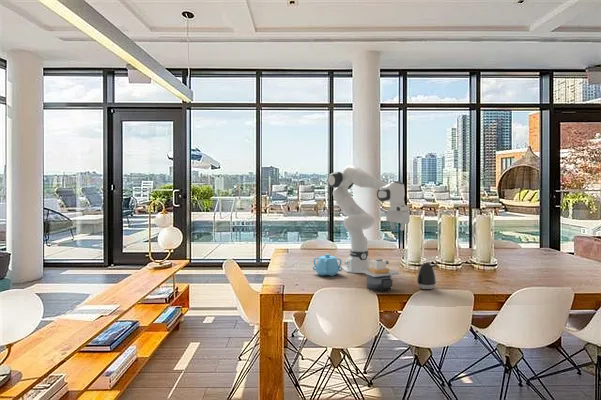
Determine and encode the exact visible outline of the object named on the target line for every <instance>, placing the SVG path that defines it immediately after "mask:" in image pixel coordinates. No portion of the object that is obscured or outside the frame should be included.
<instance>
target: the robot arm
mask: <svg viewBox="0 0 601 400" xmlns="http://www.w3.org/2000/svg"><path fill="white" fill-rule="evenodd" d="M326 181H327V184H328V186H329V187H330V188H334V189H333V191H332V196H333V199H334V201H335V202H336V204H337V205H338V207H339V208H340V210H341V212H342V213H343V214H344V215H346V217H345V218H344V220H343V227H344V228H345V229H346V231H347V232H348V235H349V236H350V247H351V249H350V250H349V256H348V257H347V258H346V259H345V261H344V265H342V266H341V267H342V270H344V272H346V273H354V274H364V273H363V272H360V270H361V269H369V268H371V260H370V258H369V250H368V246H369V245H368V242H369V241H368V240H369V239H368V238H367V237H366V236H365V235H364V230H369V229H370V228H372V227H373V226H374V225H375V217H374V216H373V215H372V214H370V213H368V212H366V211H365V210H364V209H363V208H362V207H360V205H359V204H357V202H356V201H355V199H354V198H353V197H352V195H351V194H350V193H349V190H350V189H352V187H353V186H354V185H355V186H357V187H360V188H366V189H367V188H371V189H375V190H377V191H376V197H377V200H379V201H380V202H389V206H388V208H387V210H386V217H385V218H386V221H387V222H389V224H390V228H391V229H392V230H395V229H396V226H395V223H398V224H400V227H399V231H402V232H403V231H405V229H404V228H405V226H406V224H409V223H410V221H411V220H410V217H411V216H410V210H411V209H410V207H409V206H407V205H406V203H405V195H406V193H405V184H404V183H403V182H402V181H396V180H392V181H391V182H390V183H387V182H385V181H383V180H382V179H379V178H377V177H375V176H373V175H372V174H370V173H368V172H367V171H365V170H363V169H362V168H360V167H358V166H355V165H350V164H349V165H346V167H345V168H344V169H343V170H342V171H334V172H332V173H329V174H328V176H327V180H326Z"/></svg>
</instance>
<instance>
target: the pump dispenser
mask: <svg viewBox="0 0 601 400" xmlns="http://www.w3.org/2000/svg"><path fill="white" fill-rule="evenodd" d="M435 267H437V264H436V263H435V264H431V263H429V262H427V261H426V262H423V263H422V264H421V265H420V268H419V270H418V273H417V279H416V280H417V281H416V282H417V286H418V287H419V289H421V290H423V289H431V290H433V289H434V288H435V286H436V283H437V280H436V274H435V270H434V268H435Z"/></svg>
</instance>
